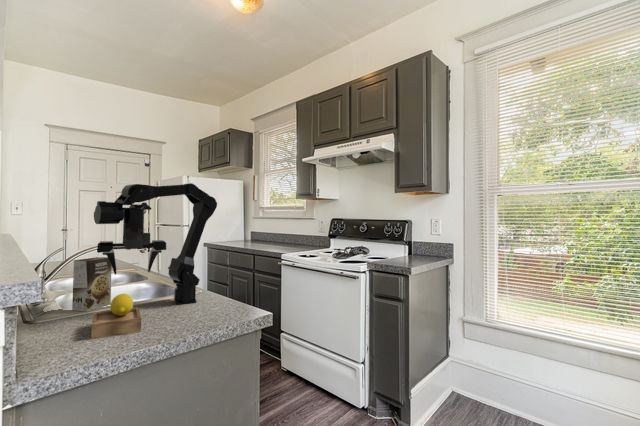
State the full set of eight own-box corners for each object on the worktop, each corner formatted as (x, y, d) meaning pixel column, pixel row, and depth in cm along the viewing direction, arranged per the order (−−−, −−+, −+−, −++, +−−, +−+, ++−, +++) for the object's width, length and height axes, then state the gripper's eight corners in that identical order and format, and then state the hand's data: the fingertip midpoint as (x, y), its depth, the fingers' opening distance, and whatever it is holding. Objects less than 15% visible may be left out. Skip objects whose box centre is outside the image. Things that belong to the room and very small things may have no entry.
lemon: (118, 324, 91) (120, 310, 98) (137, 312, 92) (137, 299, 99) (104, 311, 89) (107, 297, 96) (123, 298, 90) (125, 285, 97)
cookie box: (88, 312, 105) (89, 261, 105) (71, 310, 106) (72, 259, 106) (111, 304, 114) (112, 257, 114) (95, 303, 115) (96, 256, 115)
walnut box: (138, 322, 99) (138, 307, 99) (140, 334, 89) (141, 318, 89) (93, 328, 93) (94, 312, 93) (91, 341, 84) (91, 324, 84)
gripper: (96, 224, 94) (95, 280, 94) (169, 225, 104) (167, 275, 104) (98, 223, 103) (97, 273, 103) (164, 223, 113) (163, 269, 113)
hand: (132, 273), depth 106 cm, fingers open, 9 cm apart
